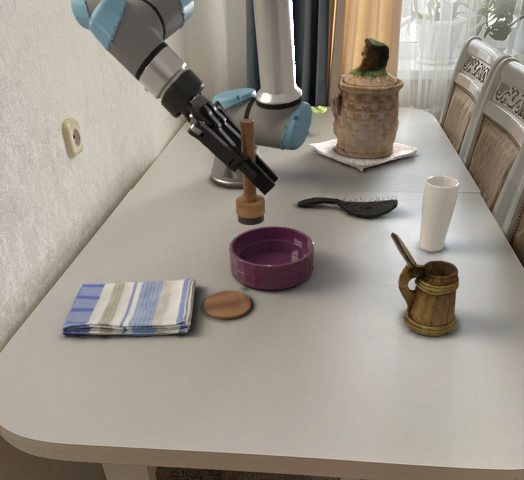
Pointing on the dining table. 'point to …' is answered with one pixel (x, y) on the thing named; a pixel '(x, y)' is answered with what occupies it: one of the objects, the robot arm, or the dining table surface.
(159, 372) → the dining table surface
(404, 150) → the cookie jar
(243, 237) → the bowl
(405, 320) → the wooden mug
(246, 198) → the dish brush
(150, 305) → the dish towel
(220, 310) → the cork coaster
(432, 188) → the white tumbler
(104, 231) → the dining table surface
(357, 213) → the hairbrush
